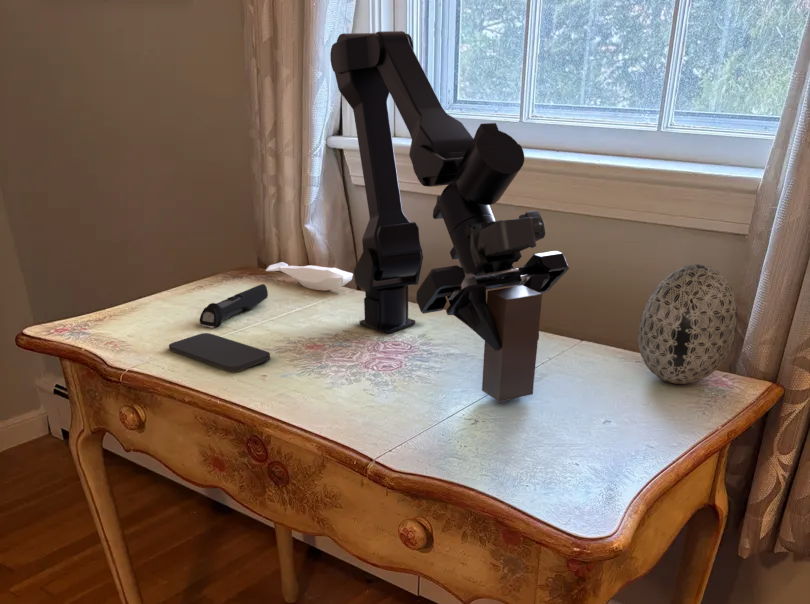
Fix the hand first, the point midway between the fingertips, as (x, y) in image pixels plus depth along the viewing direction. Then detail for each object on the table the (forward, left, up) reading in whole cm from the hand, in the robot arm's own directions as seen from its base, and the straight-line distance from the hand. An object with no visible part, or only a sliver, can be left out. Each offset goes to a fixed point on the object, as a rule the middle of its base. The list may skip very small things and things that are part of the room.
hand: (517, 345), depth 94 cm
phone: (+15, -41, -8) cm, 44 cm away
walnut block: (0, -1, -7) cm, 7 cm away
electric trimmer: (+2, -55, -8) cm, 55 cm away
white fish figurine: (-16, -58, -8) cm, 60 cm away
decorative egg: (-21, +11, -8) cm, 25 cm away
